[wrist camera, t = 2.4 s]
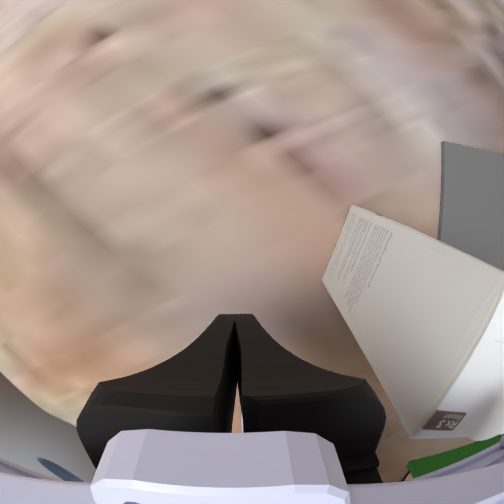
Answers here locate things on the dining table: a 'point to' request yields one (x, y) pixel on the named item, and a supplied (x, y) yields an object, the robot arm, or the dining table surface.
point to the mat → (473, 202)
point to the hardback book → (448, 458)
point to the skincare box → (423, 325)
